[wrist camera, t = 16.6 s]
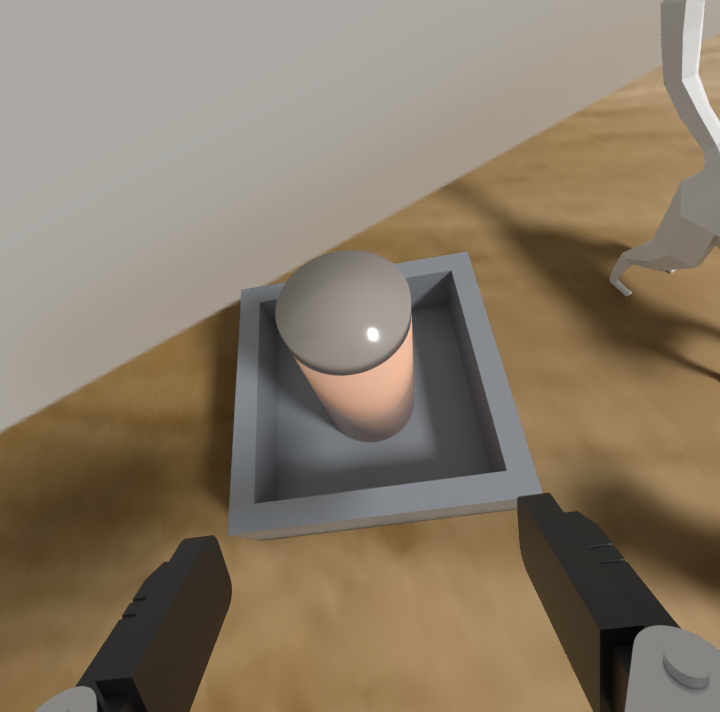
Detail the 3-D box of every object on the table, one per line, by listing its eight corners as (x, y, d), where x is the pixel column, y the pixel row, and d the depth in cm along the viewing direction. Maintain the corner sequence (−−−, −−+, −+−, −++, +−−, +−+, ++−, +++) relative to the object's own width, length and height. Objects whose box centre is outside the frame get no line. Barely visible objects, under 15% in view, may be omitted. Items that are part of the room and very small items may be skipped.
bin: (262, 540, 22) (227, 535, 18) (266, 328, 28) (241, 290, 24) (520, 508, 21) (543, 495, 17) (460, 296, 27) (467, 251, 23)
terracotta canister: (331, 448, 23) (274, 373, 14) (326, 367, 25) (275, 261, 16) (421, 435, 22) (422, 351, 13) (407, 355, 25) (399, 240, 16)
